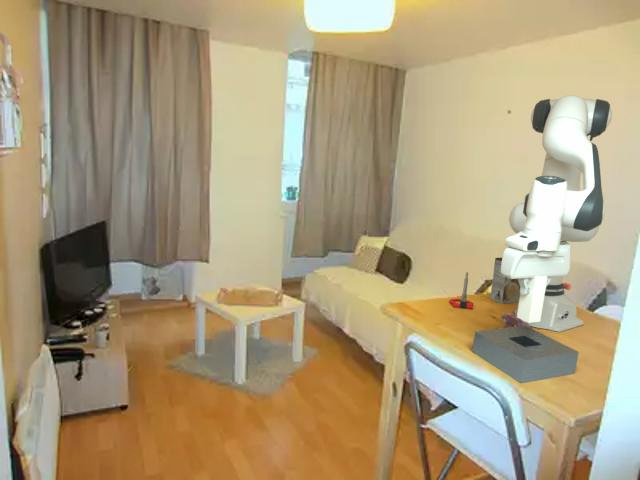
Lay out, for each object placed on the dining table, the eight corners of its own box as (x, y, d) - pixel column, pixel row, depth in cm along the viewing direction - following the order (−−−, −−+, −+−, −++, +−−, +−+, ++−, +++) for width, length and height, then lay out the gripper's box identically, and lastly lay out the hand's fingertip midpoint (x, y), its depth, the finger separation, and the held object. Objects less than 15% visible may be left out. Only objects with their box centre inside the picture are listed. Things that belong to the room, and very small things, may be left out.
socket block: (522, 344, 140) (525, 325, 139) (574, 373, 124) (578, 351, 123) (472, 351, 133) (474, 331, 132) (521, 383, 117) (524, 360, 116)
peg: (528, 316, 128) (535, 272, 126) (540, 321, 125) (547, 276, 122) (516, 317, 127) (523, 273, 124) (528, 322, 123) (535, 277, 121)
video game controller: (502, 331, 154) (497, 313, 151) (512, 323, 155) (507, 306, 153) (526, 343, 145) (521, 325, 143) (537, 335, 146) (532, 317, 144)
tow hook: (447, 300, 178) (450, 307, 169) (451, 266, 176) (455, 271, 167) (471, 303, 177) (475, 310, 168) (475, 268, 175) (480, 274, 166)
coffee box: (507, 296, 185) (513, 256, 182) (520, 302, 179) (527, 260, 176) (489, 298, 181) (495, 257, 178) (501, 304, 176) (507, 261, 172)
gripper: (560, 237, 128) (552, 287, 131) (500, 238, 121) (493, 291, 123) (580, 242, 123) (571, 294, 125) (519, 244, 115) (511, 299, 118)
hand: (532, 293), depth 124 cm, fingers closed on peg, 4 cm apart
